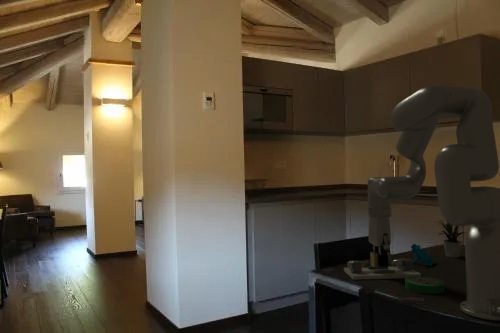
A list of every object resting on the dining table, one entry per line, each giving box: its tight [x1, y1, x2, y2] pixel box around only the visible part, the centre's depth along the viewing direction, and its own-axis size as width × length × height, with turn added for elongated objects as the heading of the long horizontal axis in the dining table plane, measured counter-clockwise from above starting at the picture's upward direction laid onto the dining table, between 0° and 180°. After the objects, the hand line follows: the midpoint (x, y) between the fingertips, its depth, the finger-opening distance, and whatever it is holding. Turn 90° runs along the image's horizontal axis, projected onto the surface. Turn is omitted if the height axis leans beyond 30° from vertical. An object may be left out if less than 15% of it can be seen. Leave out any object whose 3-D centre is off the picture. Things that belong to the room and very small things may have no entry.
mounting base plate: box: [343, 265, 422, 281], centre depth 141 cm, size 12×23×2 cm, turn 92°
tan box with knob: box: [369, 251, 392, 268], centre depth 141 cm, size 6×4×5 cm, turn 92°
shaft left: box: [346, 259, 370, 273], centre depth 141 cm, size 7×4×4 cm, turn 92°
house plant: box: [435, 219, 467, 258], centre depth 168 cm, size 14×14×16 cm
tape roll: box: [404, 275, 446, 295], centre depth 123 cm, size 11×11×3 cm
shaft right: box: [391, 257, 414, 271], centre depth 142 cm, size 7×4×4 cm, turn 107°
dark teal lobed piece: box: [410, 243, 435, 267], centre depth 155 cm, size 11×6×10 cm
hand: (380, 264), depth 141 cm, fingers closed on tan box with knob, 4 cm apart
